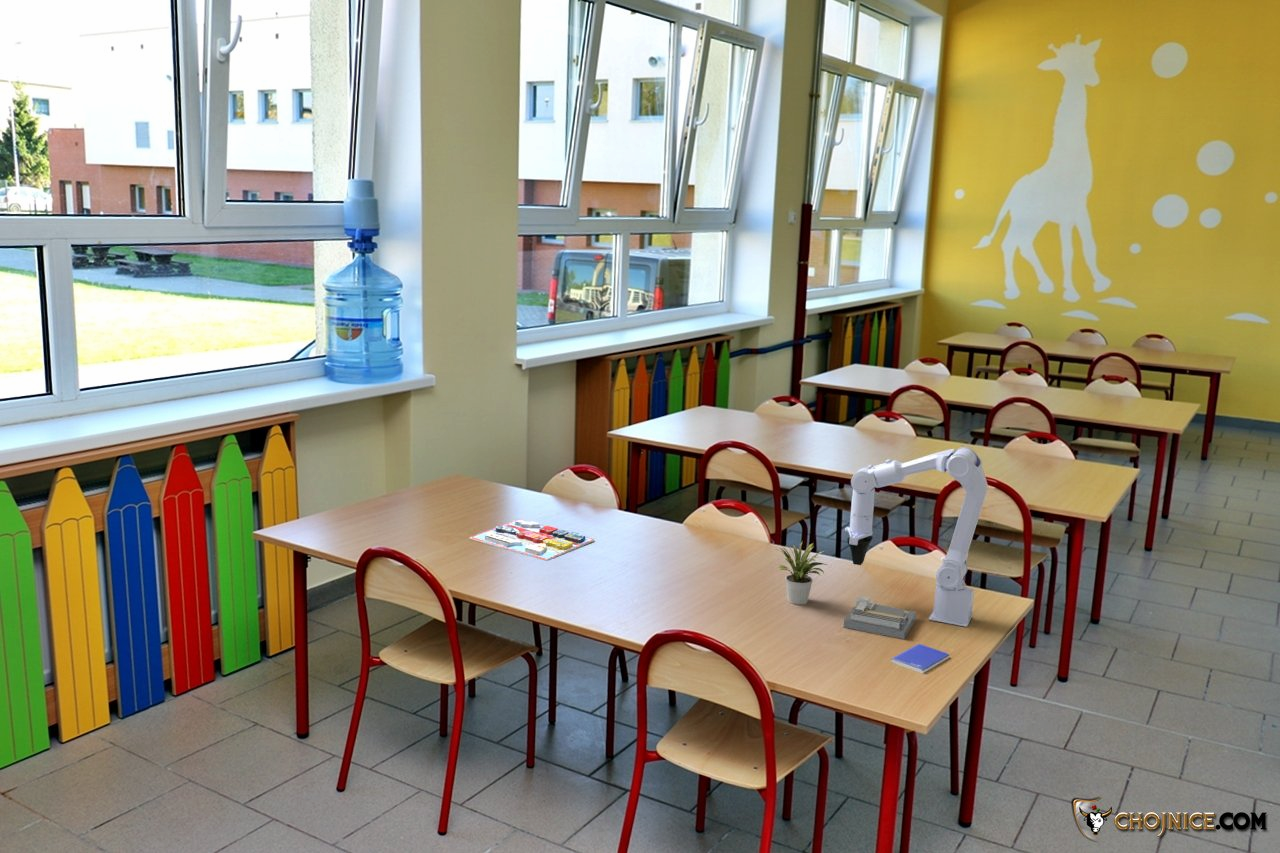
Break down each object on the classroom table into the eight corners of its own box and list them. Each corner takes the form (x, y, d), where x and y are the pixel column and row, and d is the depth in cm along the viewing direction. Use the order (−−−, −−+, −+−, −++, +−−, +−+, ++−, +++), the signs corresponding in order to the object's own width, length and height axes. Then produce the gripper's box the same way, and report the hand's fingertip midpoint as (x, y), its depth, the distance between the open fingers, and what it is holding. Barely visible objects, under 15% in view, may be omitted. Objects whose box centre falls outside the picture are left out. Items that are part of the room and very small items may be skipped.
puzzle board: (468, 541, 330) (468, 532, 329) (518, 523, 349) (518, 515, 348) (547, 563, 313) (547, 554, 313) (595, 543, 332) (595, 535, 331)
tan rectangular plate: (903, 619, 273) (903, 617, 273) (900, 623, 271) (900, 620, 271) (859, 610, 278) (859, 608, 278) (856, 614, 275) (857, 612, 275)
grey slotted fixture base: (916, 618, 279) (917, 604, 278) (903, 639, 266) (905, 624, 265) (858, 607, 285) (859, 593, 284) (843, 627, 272) (844, 612, 271)
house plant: (778, 613, 279) (782, 553, 276) (758, 594, 292) (762, 536, 289) (830, 609, 283) (834, 549, 280) (808, 590, 296) (812, 533, 293)
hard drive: (923, 668, 247) (949, 653, 256) (891, 657, 253) (918, 643, 262) (922, 675, 248) (948, 659, 256) (890, 664, 253) (917, 649, 262)
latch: (869, 609, 279) (870, 597, 278) (864, 616, 274) (865, 604, 274) (858, 607, 280) (859, 595, 279) (853, 614, 275) (854, 602, 275)
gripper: (853, 504, 293) (850, 553, 296) (839, 518, 280) (835, 569, 283) (880, 508, 290) (876, 557, 293) (866, 522, 277) (862, 573, 280)
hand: (858, 563), depth 288 cm, fingers closed
